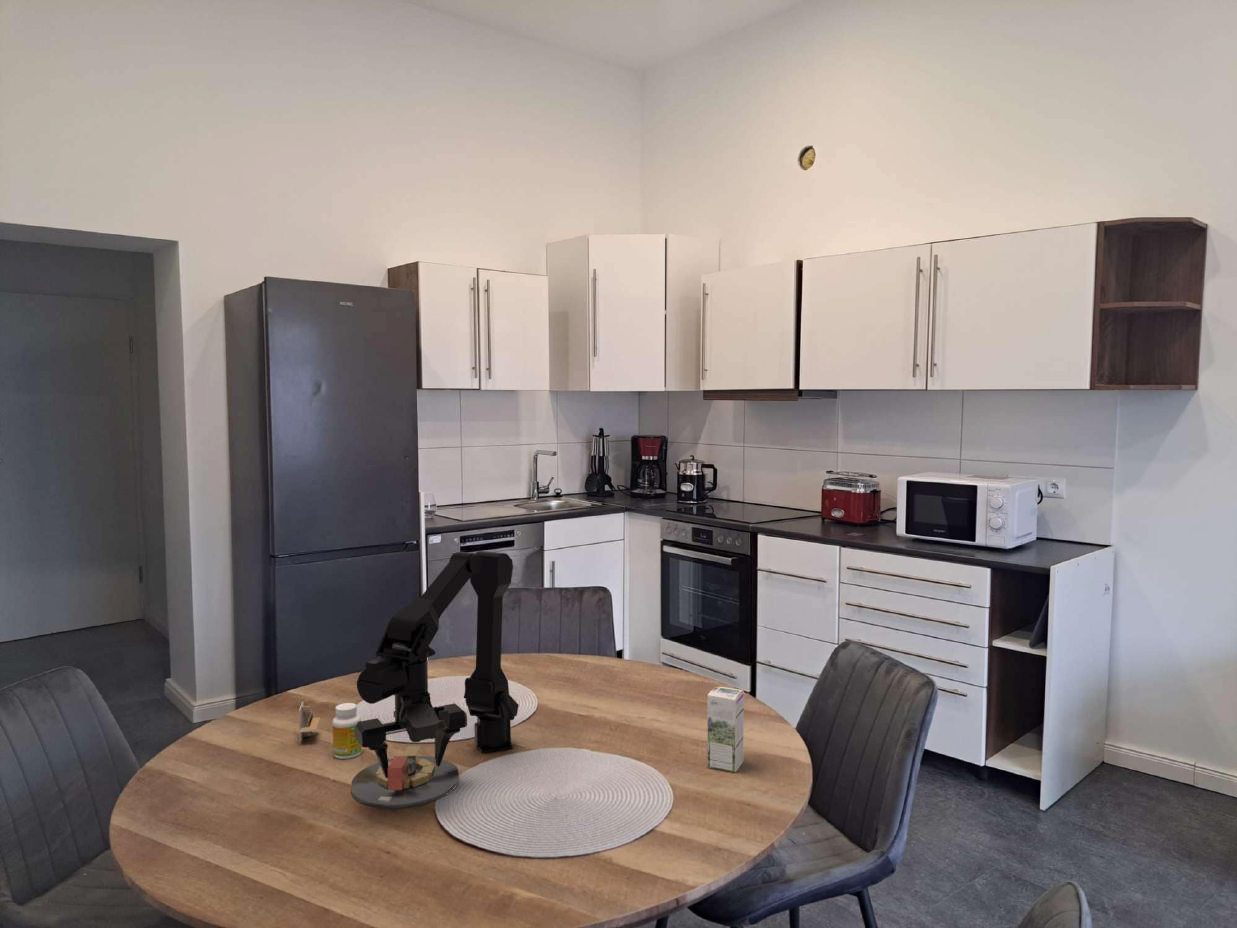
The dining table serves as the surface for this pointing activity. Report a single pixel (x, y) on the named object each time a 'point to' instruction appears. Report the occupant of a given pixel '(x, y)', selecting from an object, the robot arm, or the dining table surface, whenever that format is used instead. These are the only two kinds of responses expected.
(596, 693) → the dining table surface
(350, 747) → the supplement bottle
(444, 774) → the cap plate
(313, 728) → the architectural model
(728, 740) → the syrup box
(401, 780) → the colourful block cluster
